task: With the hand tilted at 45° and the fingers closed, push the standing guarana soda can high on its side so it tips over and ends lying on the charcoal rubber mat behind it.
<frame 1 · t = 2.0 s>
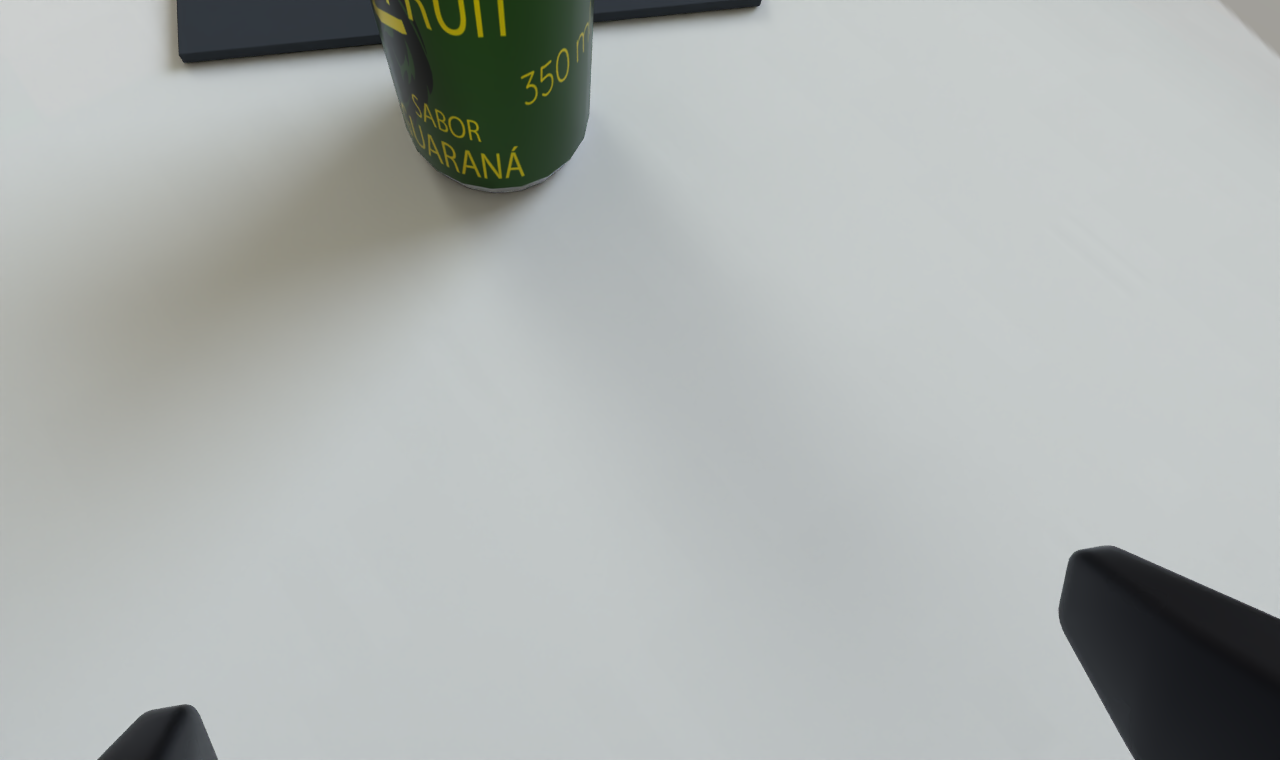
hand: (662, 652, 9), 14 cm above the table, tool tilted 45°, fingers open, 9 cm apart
guarana soda can: (499, 127, 27), on the table
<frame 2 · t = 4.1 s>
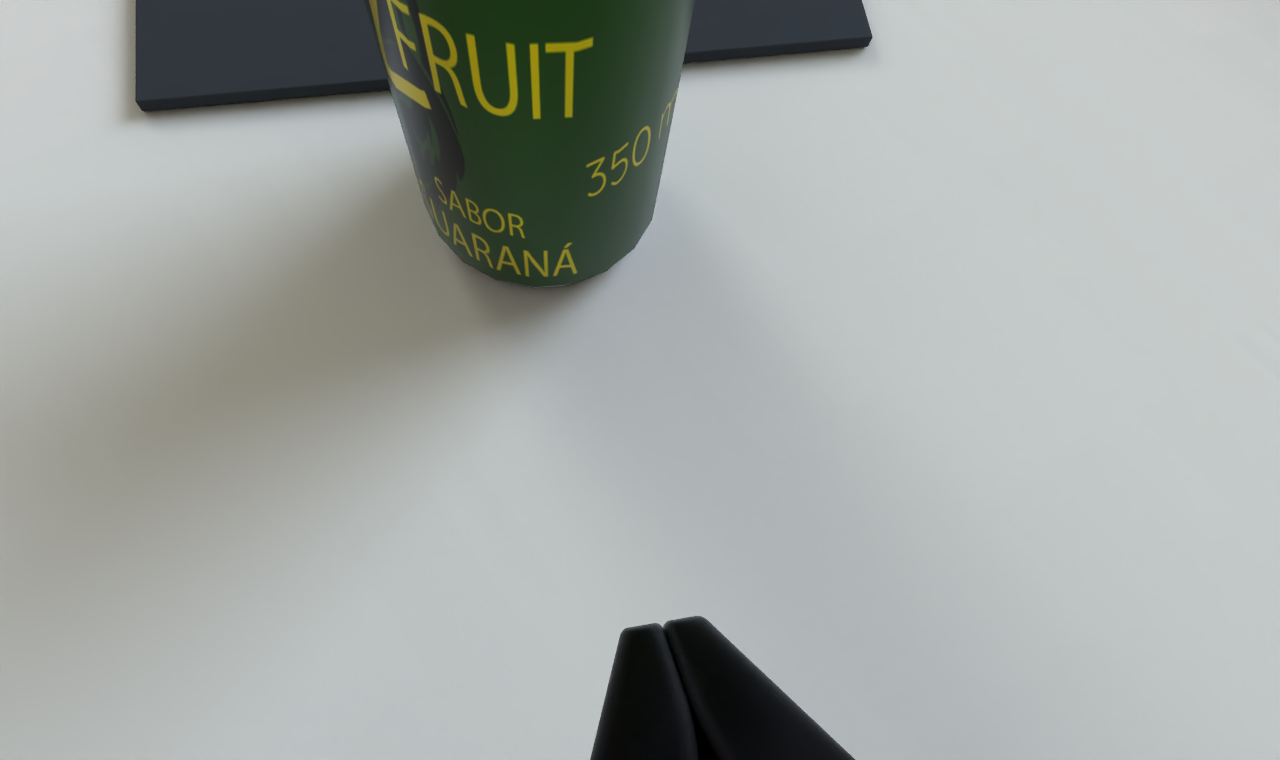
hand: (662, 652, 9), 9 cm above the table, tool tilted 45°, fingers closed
guarana soda can: (542, 200, 21), on the table
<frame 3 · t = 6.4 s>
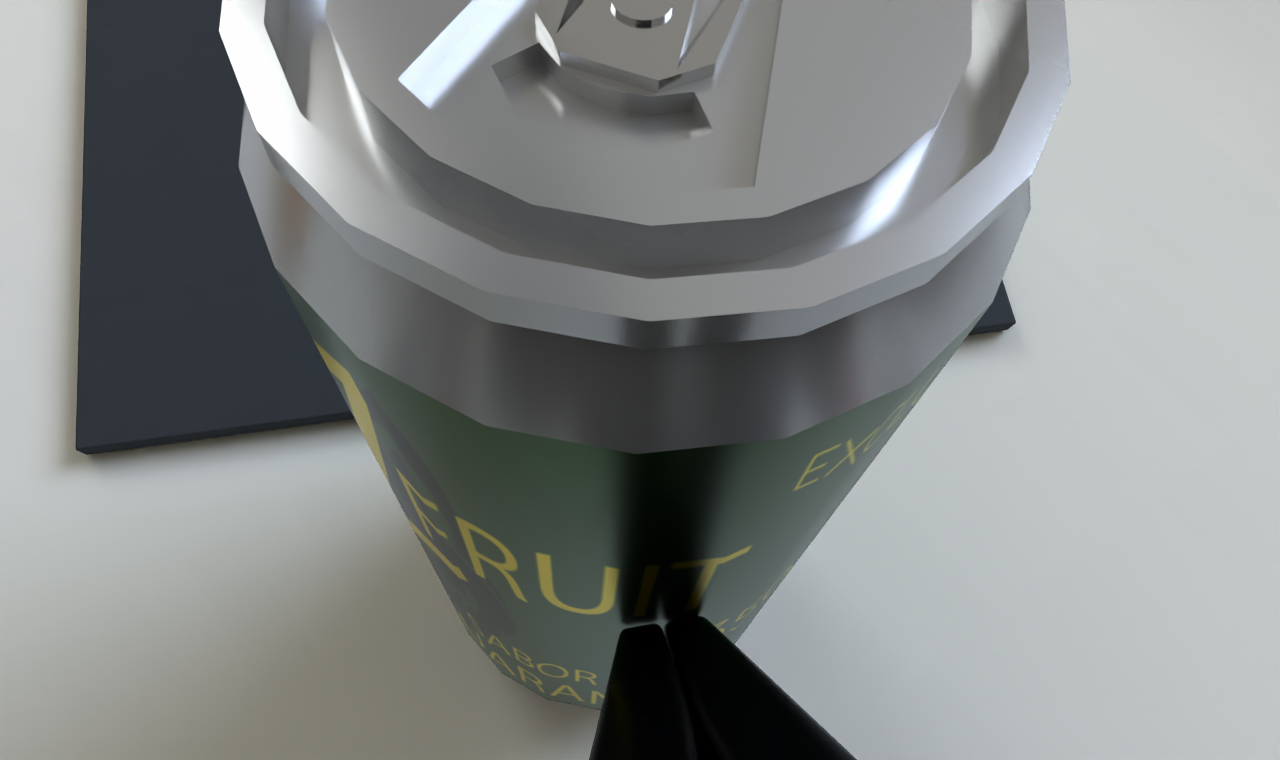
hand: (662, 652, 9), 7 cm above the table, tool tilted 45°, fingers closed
guarana soda can: (605, 559, 16), on the table, touching gripper
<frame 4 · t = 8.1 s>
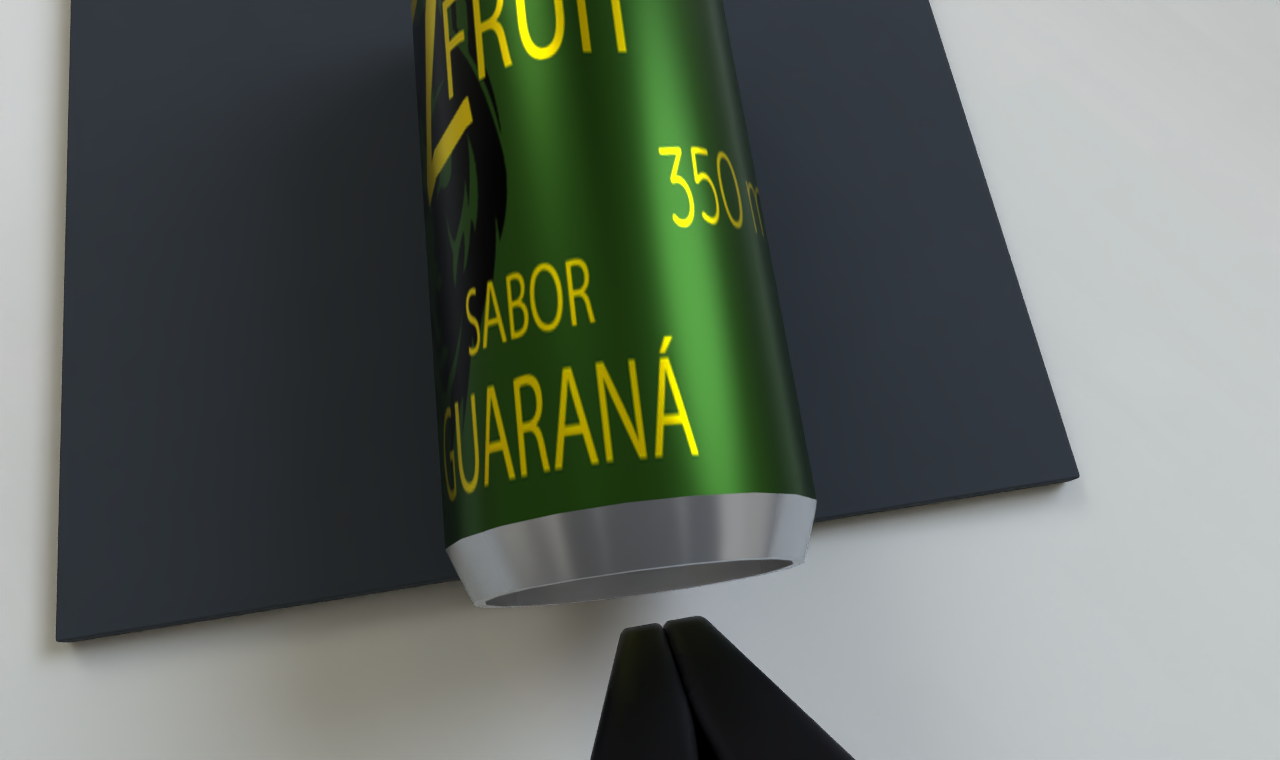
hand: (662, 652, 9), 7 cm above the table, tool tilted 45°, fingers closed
mat: (532, 82, 19), on the table
guarana soda can: (641, 598, 13), point 3 cm above the table, touching mat
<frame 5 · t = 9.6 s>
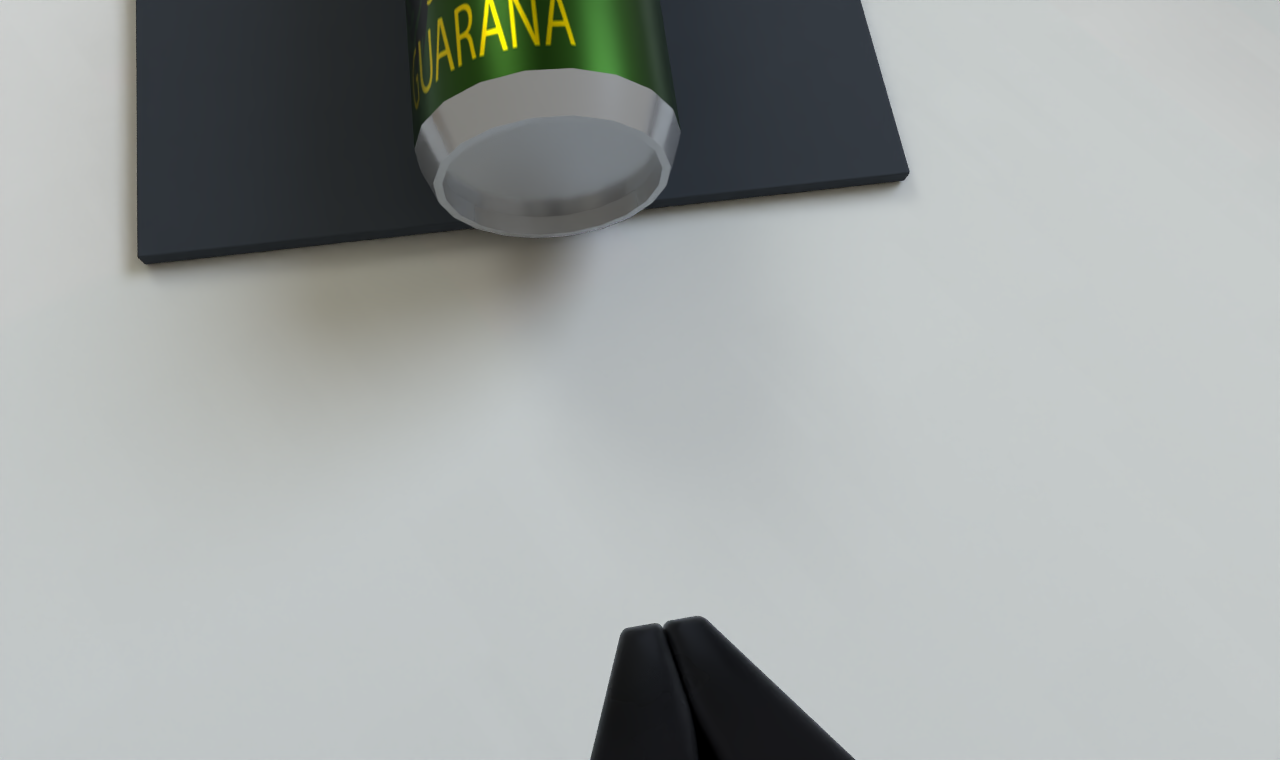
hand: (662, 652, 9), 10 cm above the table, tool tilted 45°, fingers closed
guarana soda can: (554, 193, 18), point 3 cm above the table, touching mat
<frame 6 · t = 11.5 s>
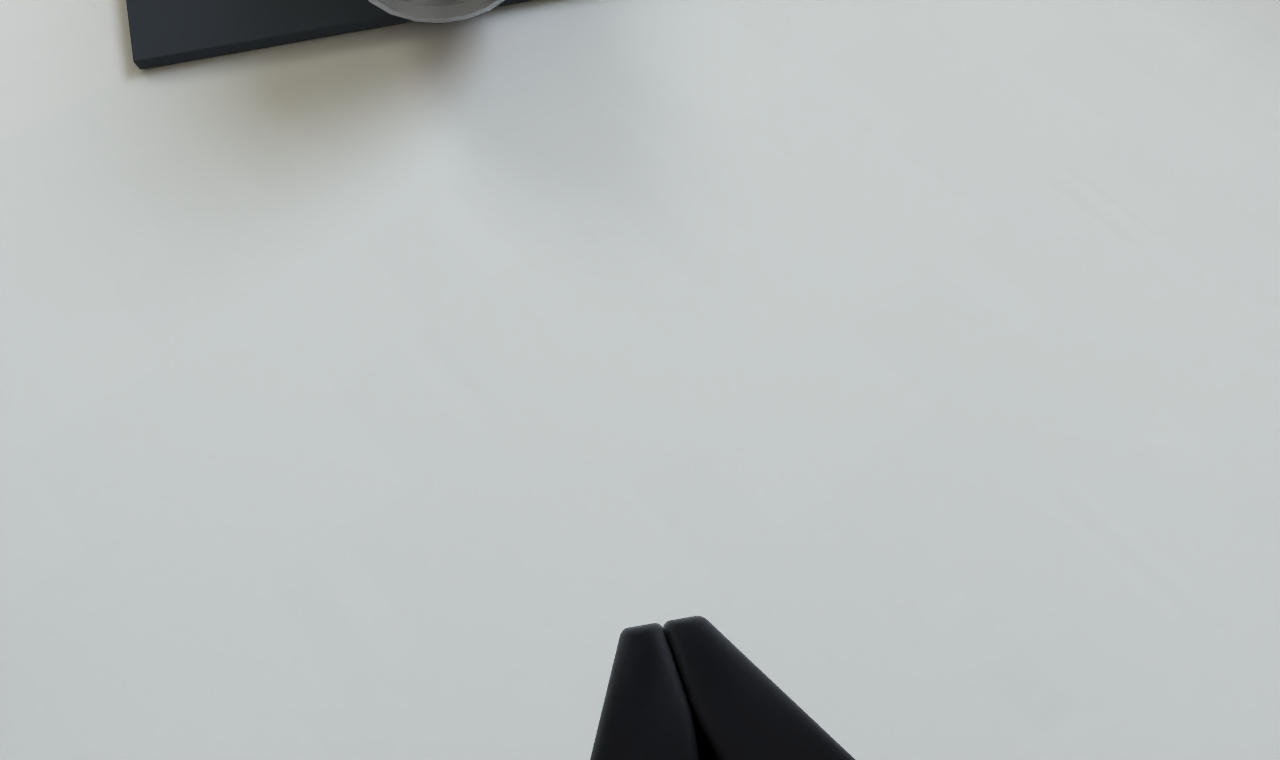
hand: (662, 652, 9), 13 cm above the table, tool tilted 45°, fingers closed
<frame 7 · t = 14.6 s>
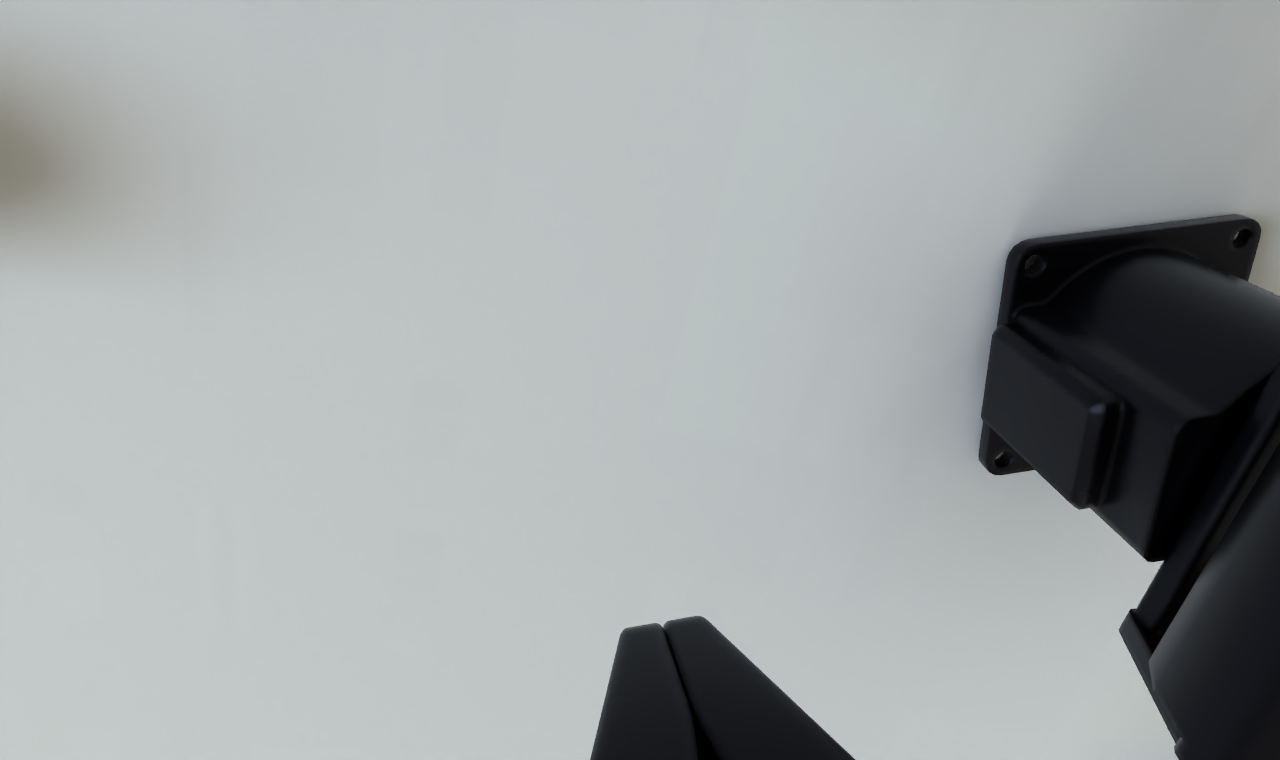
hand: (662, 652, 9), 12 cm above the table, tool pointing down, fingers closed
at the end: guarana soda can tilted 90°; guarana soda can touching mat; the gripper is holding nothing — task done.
